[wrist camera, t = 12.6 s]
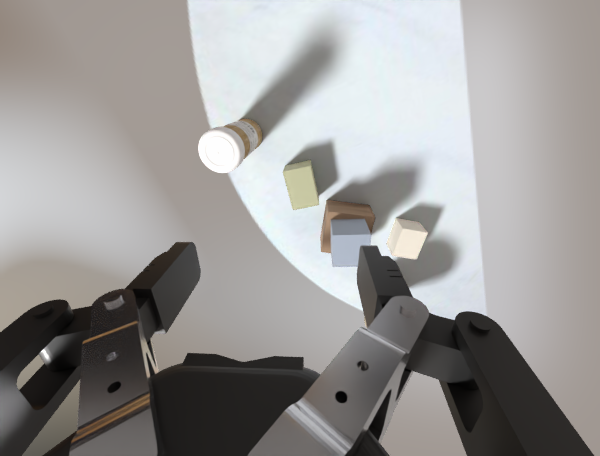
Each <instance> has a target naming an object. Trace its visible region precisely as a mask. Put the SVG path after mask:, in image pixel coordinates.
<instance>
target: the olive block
mask: <svg viewBox="0 0 600 456" xmlns="http://www.w3.org/2000/svg"><path fill="white" fill-rule="evenodd" d="M283 175H284V178H285V182H286V186H287V190H288V193H289V197H290V201H291V205H292V208H293V210H297V209H302V208H307V207H312V206H317V205H319V196H318V191H317V187H316V182H315V177H314V173H313V168H312V163H311V160H307V161H303V162H298V163H294V164H290V165H285V168H284V170H283Z"/></svg>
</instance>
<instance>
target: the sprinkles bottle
mask: <svg viewBox="0 0 600 456" xmlns="http://www.w3.org/2000/svg"><path fill="white" fill-rule="evenodd" d="M261 141H262V131H261V129H260V127H259V126H258V124H257V123H256V122H254V121H252V120H250V119H241V120H239V121H237V122H233V123H230V124H228V125H226V126H224V127H216V128H213V129H211V130H209V131H207V132H206V133H204V134H203V135H202V137H201V139H200V141H199V146H198V150H199V155H200V158H201V160H202V161H203V163H204V164H205V165H206V166H207V167H208V168H209V169H211V170H213V171H215V172H218V173H228V172H231V171H233V170H234V169H236V168H237V167H238V166H239V165H240V164H241V163H242V161H243V159H245V158H246V157H247V156H248V155H249V154H250V153H251V152H252V151H254V149H256V148H257V147H258V146H259V145H260V144H261Z"/></svg>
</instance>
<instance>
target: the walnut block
mask: <svg viewBox="0 0 600 456" xmlns="http://www.w3.org/2000/svg"><path fill="white" fill-rule="evenodd" d="M333 219H365V221H366V223H367V226H368V228H369V230H370V233H371V232H372V228H373V224H374V220H375V215H374V213H373V212H372V210H371V208H370V206H369V205H365V204H356V203H348V202H340V201H332V200H327V201H326V207H325V213H324V219H323V225H322V231H321V237H320V238H321V252H326V253H331V220H333Z"/></svg>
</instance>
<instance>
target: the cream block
mask: <svg viewBox="0 0 600 456" xmlns="http://www.w3.org/2000/svg"><path fill="white" fill-rule="evenodd" d="M427 234H428V232H427V231H426V230H425V229H424V227H423V226H422V225H421V224H420V223H419V222H416V221H410V220H404V219H399V218H395V221H394V224H393V227H392V230H391V232H390V235H389V238H388V241H387V243H386V244H387V246H388V248H389V250H390V252H391V254H392V256H397V257H403V258H409V259H415V260H416V259H417V257H418V255H419V252H420V250H421V248H422V246H423V243H424V241H425V239H426V236H427Z"/></svg>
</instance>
